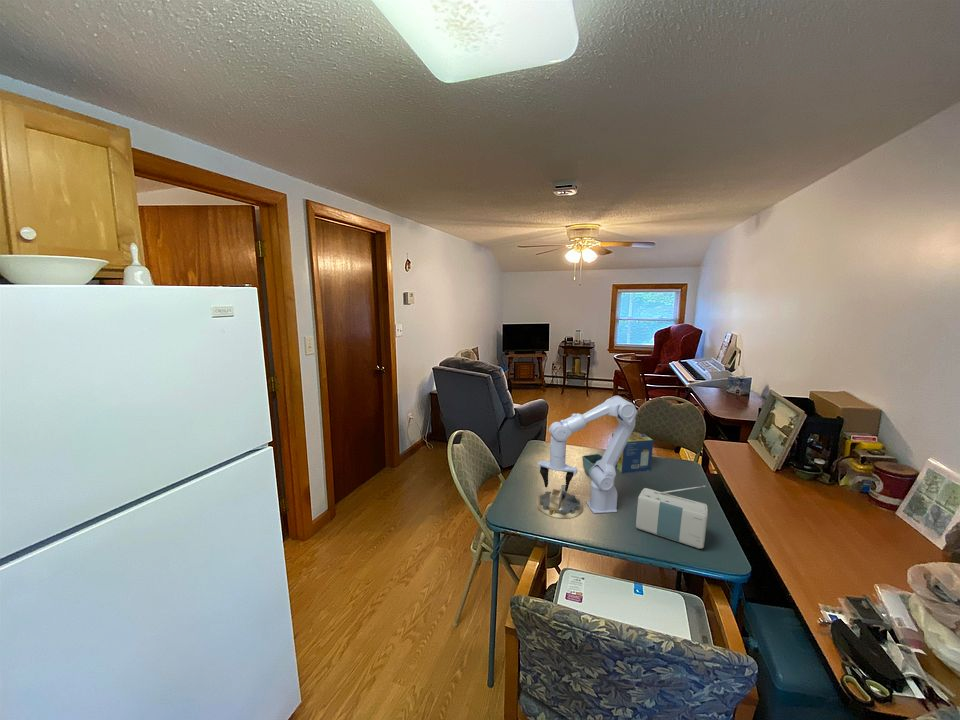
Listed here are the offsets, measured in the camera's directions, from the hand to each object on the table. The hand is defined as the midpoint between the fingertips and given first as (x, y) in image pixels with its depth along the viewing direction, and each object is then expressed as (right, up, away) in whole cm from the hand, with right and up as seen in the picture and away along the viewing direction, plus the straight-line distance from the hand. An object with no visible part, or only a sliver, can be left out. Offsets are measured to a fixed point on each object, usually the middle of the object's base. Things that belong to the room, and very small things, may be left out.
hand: (556, 488), depth 147 cm
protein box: (+43, -3, +38) cm, 57 cm away
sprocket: (+2, -8, +5) cm, 10 cm away
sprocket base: (+2, -8, +5) cm, 10 cm away
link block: (0, -7, +1) cm, 7 cm away
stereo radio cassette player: (+36, -12, -13) cm, 41 cm away
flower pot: (+23, -5, +28) cm, 36 cm away
